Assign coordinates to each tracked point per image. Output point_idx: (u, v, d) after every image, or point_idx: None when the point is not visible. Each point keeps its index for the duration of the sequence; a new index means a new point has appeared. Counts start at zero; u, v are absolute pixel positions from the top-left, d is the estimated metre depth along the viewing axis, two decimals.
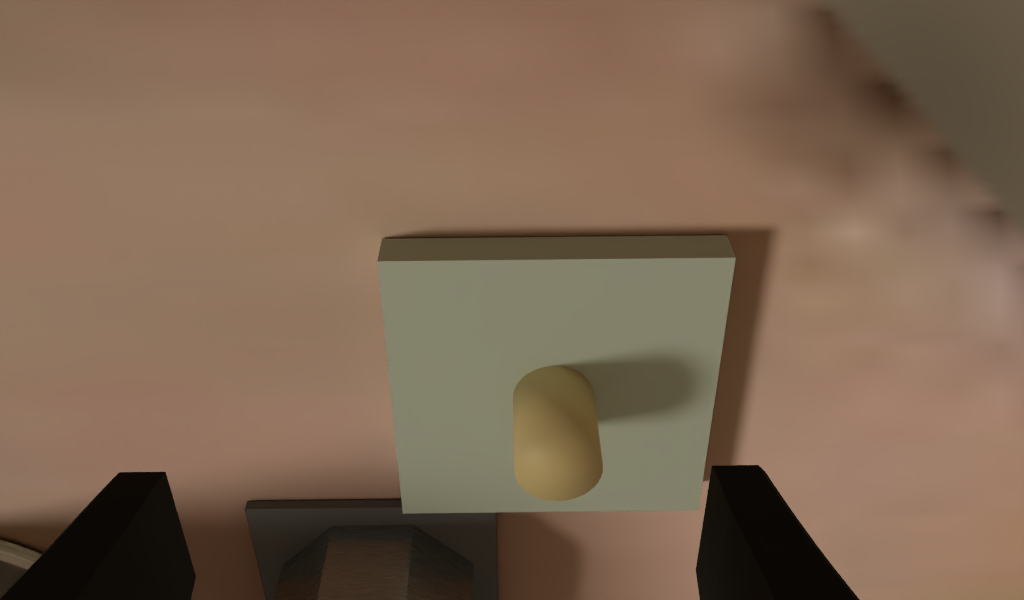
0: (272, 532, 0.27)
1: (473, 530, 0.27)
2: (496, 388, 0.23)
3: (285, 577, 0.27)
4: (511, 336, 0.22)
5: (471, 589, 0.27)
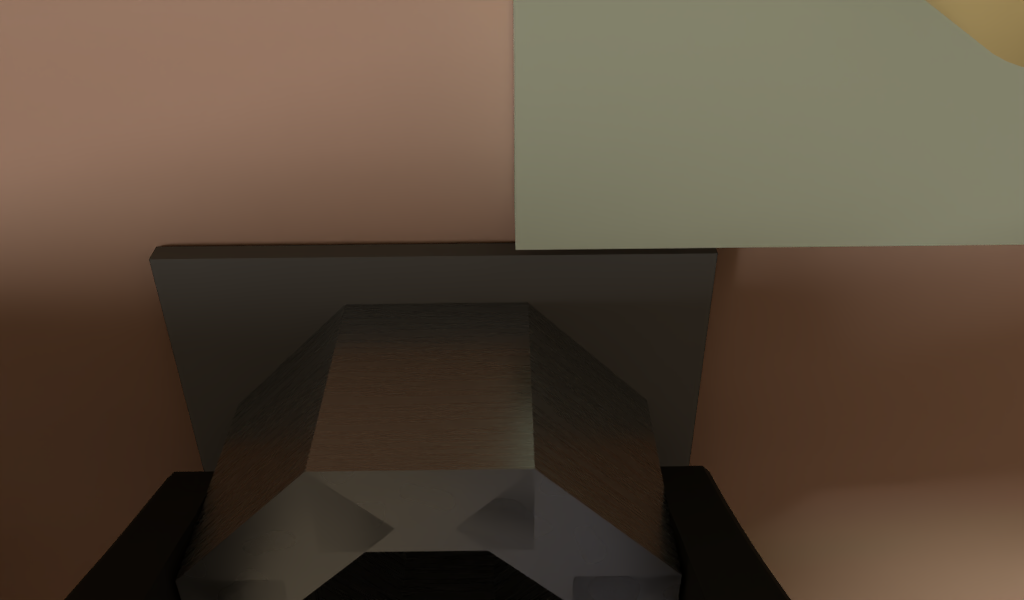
0: (214, 320, 0.12)
1: (658, 316, 0.12)
2: None
3: (243, 422, 0.12)
4: None
5: (654, 448, 0.12)
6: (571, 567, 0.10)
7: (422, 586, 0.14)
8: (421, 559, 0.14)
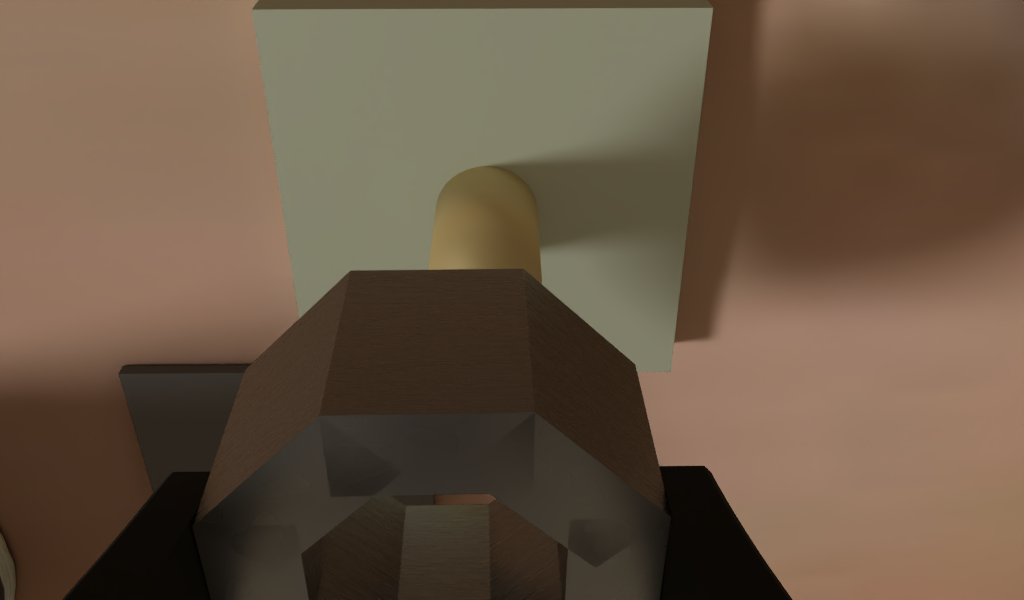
0: (155, 404, 0.22)
1: None
2: (414, 198, 0.18)
3: (251, 384, 0.13)
4: (429, 123, 0.18)
5: (643, 407, 0.13)
6: (567, 510, 0.11)
7: (420, 546, 0.14)
8: (419, 522, 0.15)
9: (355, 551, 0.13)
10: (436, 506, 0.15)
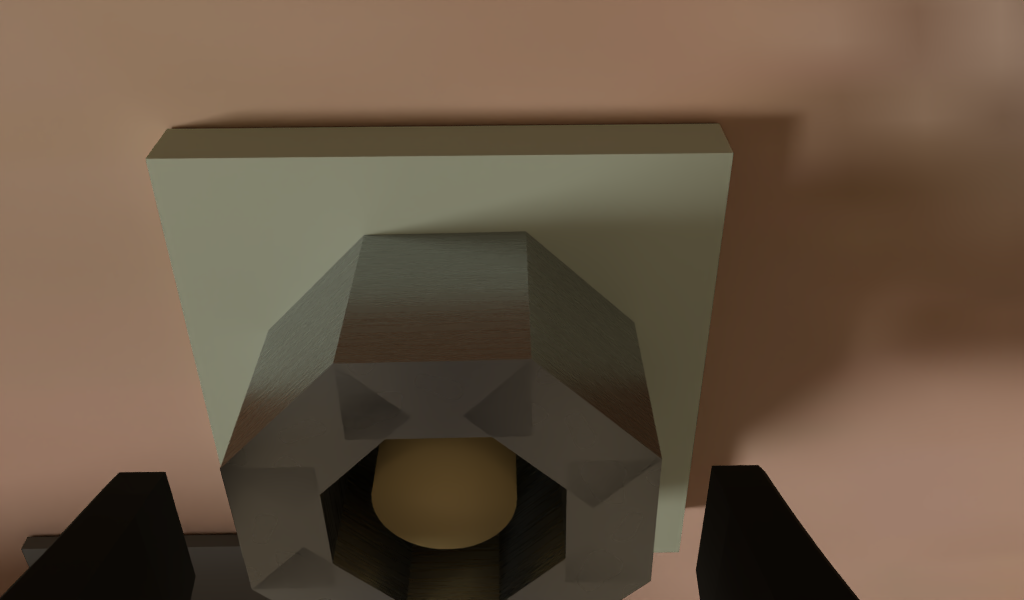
0: None
1: None
2: None
3: (274, 342, 0.14)
4: None
5: (640, 360, 0.14)
6: (565, 452, 0.12)
7: None
8: None
9: None
10: None
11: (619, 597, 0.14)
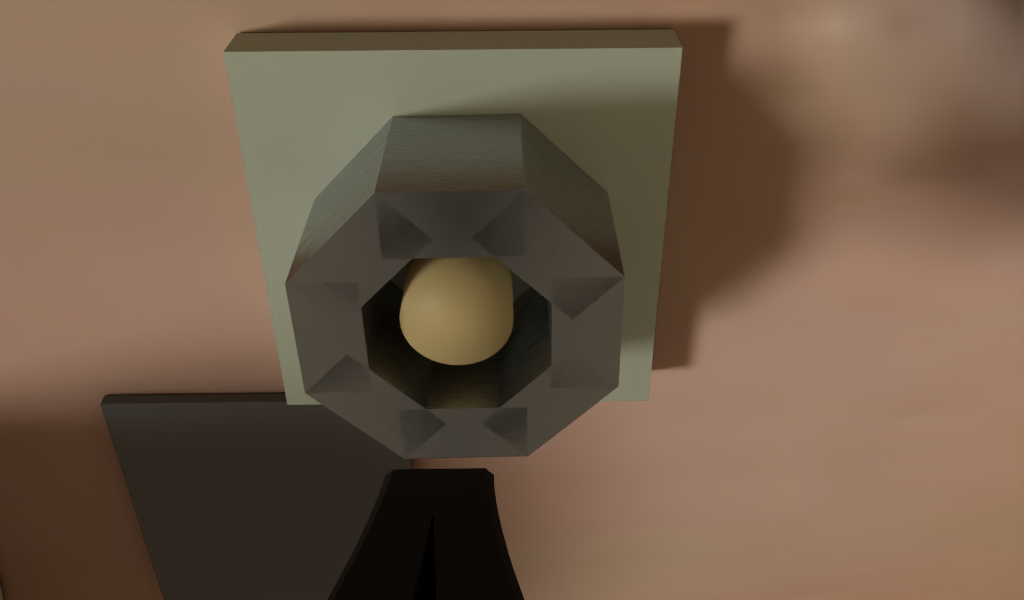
0: (137, 433, 0.22)
1: None
2: None
3: (321, 202, 0.17)
4: None
5: (611, 217, 0.17)
6: (550, 270, 0.15)
7: None
8: None
9: (398, 333, 0.18)
10: None
11: (594, 403, 0.17)
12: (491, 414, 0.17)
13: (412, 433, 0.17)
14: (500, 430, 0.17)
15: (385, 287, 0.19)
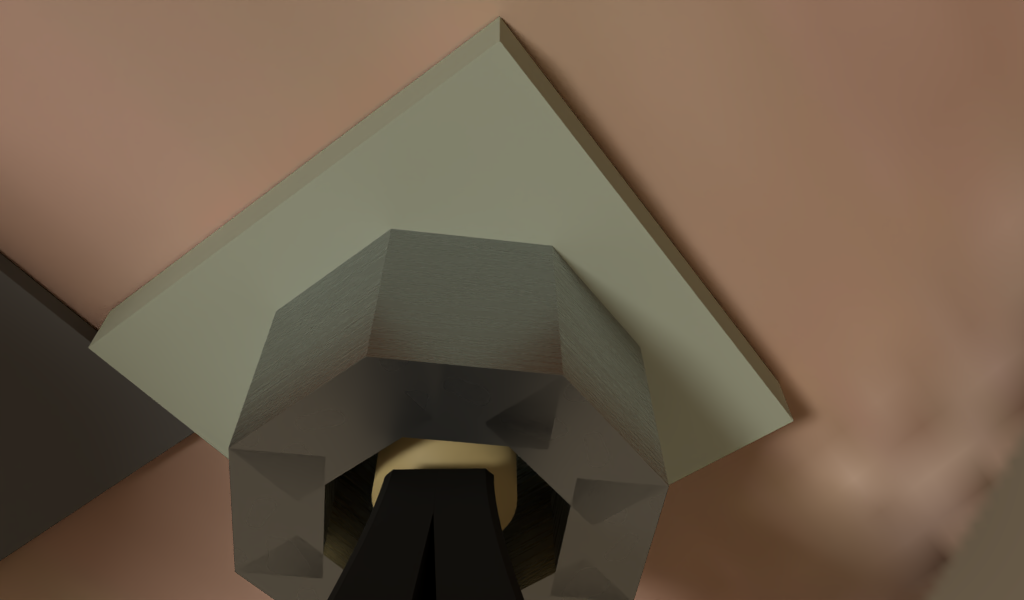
0: None
1: (134, 431, 0.16)
2: None
3: (413, 255, 0.13)
4: None
5: None
6: (592, 551, 0.13)
7: None
8: None
9: None
10: None
11: None
12: None
13: (277, 560, 0.13)
14: None
15: None
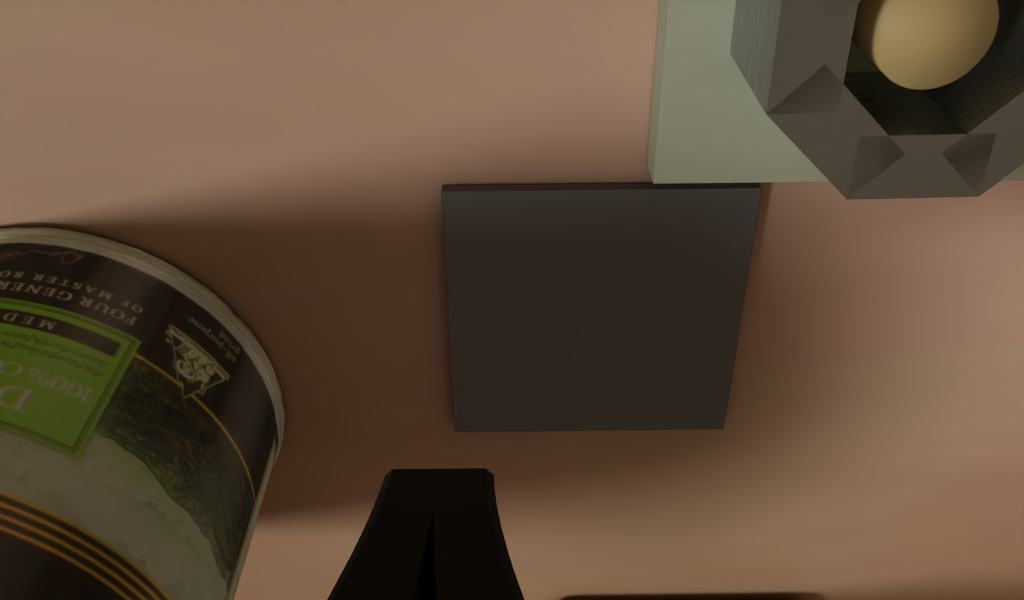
0: (471, 228, 0.21)
1: (726, 226, 0.21)
2: None
3: None
4: None
5: None
6: None
7: (865, 88, 0.18)
8: (854, 78, 0.18)
9: None
10: None
11: None
12: (956, 141, 0.16)
13: (864, 166, 0.16)
14: (959, 163, 0.16)
15: None
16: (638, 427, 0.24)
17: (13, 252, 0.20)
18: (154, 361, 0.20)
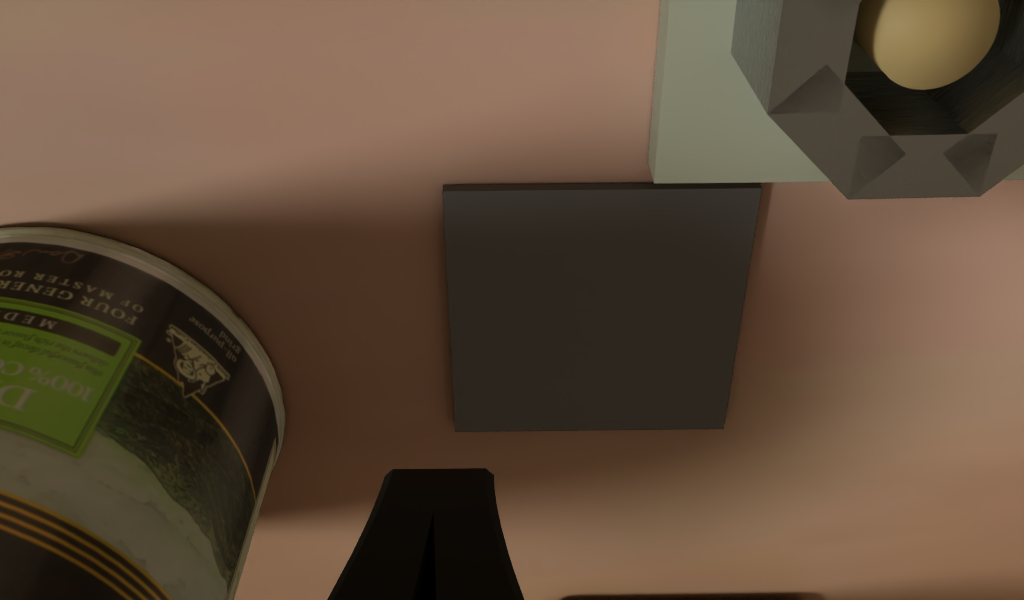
0: (472, 228, 0.21)
1: (727, 226, 0.21)
2: None
3: None
4: None
5: None
6: None
7: (866, 88, 0.18)
8: (854, 78, 0.18)
9: None
10: None
11: None
12: (957, 142, 0.16)
13: (865, 166, 0.16)
14: (960, 163, 0.16)
15: None
16: (638, 427, 0.24)
17: (14, 251, 0.20)
18: (154, 360, 0.20)
